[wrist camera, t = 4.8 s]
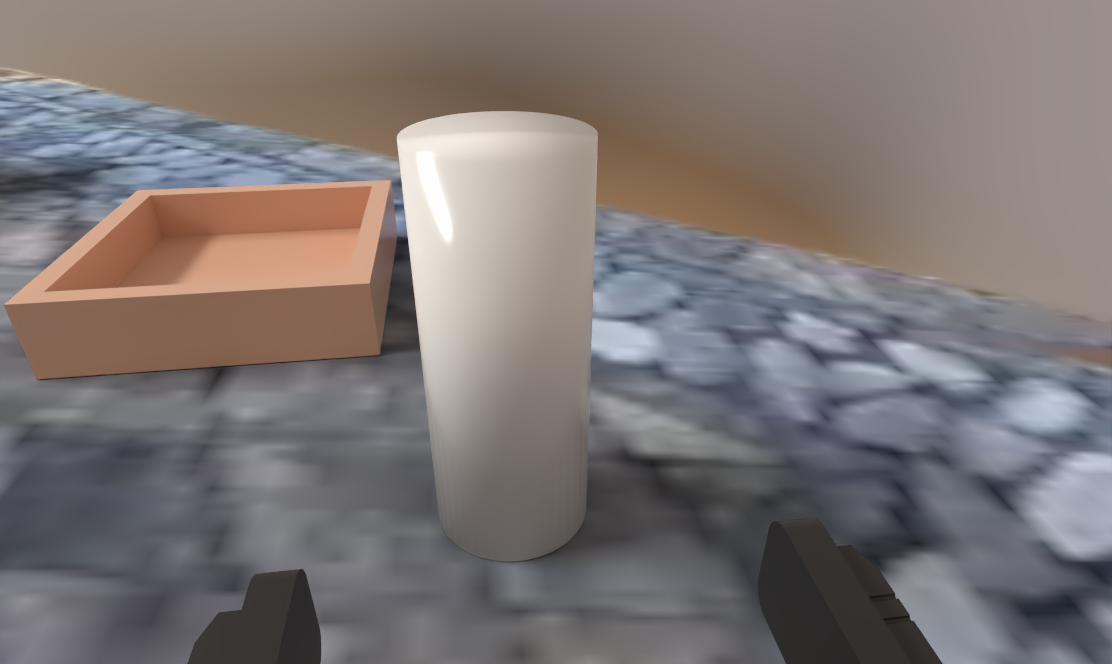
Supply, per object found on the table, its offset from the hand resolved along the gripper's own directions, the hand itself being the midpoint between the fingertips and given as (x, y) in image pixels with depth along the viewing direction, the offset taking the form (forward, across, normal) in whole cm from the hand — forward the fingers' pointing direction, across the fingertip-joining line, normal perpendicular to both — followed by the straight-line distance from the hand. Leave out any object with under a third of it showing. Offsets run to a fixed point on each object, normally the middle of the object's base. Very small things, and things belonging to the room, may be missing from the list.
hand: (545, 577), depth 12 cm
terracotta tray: (+26, +12, +6) cm, 29 cm away
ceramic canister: (+9, 0, +6) cm, 11 cm away
